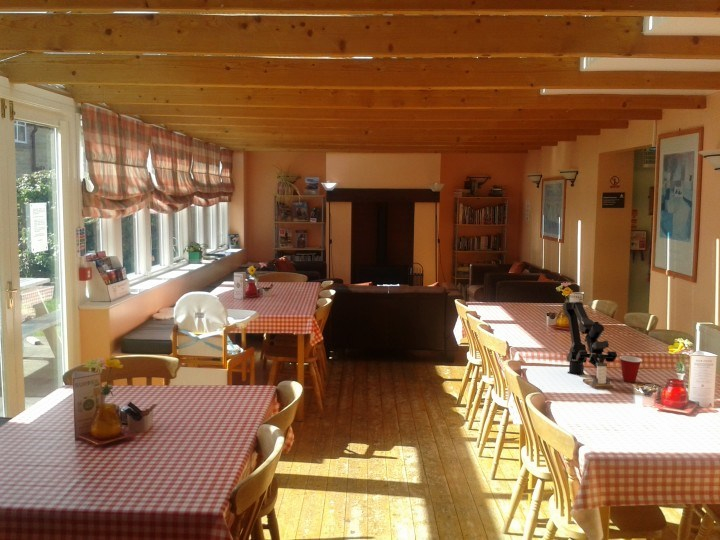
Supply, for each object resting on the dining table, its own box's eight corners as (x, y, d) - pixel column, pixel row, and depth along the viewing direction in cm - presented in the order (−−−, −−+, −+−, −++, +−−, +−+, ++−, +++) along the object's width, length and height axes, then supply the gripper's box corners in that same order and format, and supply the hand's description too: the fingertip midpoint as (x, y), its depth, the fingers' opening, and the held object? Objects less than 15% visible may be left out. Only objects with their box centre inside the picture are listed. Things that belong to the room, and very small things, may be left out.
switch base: (582, 381, 357) (583, 373, 357) (600, 381, 358) (600, 373, 357) (594, 388, 342) (595, 380, 341) (613, 389, 342) (613, 380, 342)
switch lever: (595, 382, 346) (596, 362, 346) (605, 382, 346) (605, 362, 347) (597, 383, 344) (597, 362, 344) (606, 383, 344) (607, 363, 345)
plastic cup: (630, 384, 354) (631, 360, 353) (613, 379, 364) (614, 356, 363) (645, 382, 359) (647, 358, 358) (628, 378, 369) (630, 355, 368)
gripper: (579, 334, 350) (586, 361, 340) (616, 335, 351) (625, 361, 341) (572, 347, 358) (579, 374, 348) (609, 348, 360) (617, 374, 349)
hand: (600, 370), depth 346 cm, fingers closed, pressing on switch lever
